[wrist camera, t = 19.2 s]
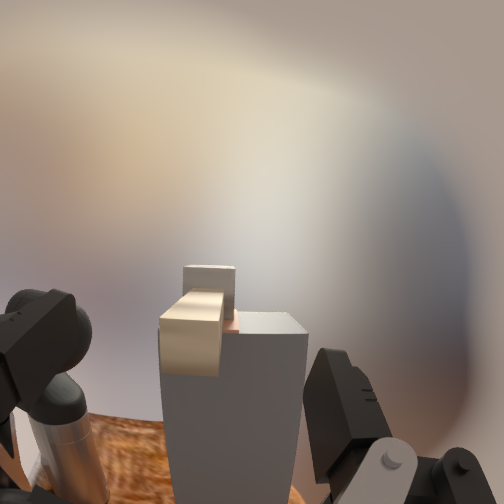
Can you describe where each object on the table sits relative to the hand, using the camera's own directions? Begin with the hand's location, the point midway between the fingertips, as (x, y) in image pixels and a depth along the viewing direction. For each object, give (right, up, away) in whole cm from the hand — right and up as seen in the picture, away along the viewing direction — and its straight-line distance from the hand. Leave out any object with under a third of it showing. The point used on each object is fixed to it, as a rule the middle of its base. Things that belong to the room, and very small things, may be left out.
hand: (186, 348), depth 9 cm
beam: (-2, -3, +15) cm, 16 cm away
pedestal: (-1, -36, +20) cm, 41 cm away
